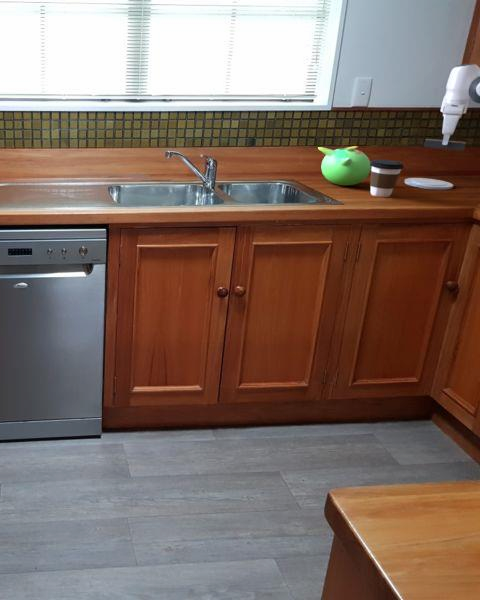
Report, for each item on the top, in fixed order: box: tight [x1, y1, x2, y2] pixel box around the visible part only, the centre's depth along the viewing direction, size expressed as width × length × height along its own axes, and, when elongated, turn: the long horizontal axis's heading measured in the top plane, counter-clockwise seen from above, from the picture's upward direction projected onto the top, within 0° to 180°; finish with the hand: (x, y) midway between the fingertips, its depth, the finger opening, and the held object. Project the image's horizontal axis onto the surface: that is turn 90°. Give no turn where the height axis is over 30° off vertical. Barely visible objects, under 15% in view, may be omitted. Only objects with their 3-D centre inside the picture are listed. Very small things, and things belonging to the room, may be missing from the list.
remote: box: [423, 138, 467, 152], centre depth 242 cm, size 14×4×3 cm, turn 59°
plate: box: [404, 177, 454, 191], centre depth 239 cm, size 17×17×1 cm
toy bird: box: [317, 145, 372, 187], centre depth 232 cm, size 18×17×15 cm
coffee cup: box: [369, 158, 405, 198], centre depth 218 cm, size 11×11×12 cm
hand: (444, 143), depth 242 cm, fingers closed on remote, 4 cm apart
